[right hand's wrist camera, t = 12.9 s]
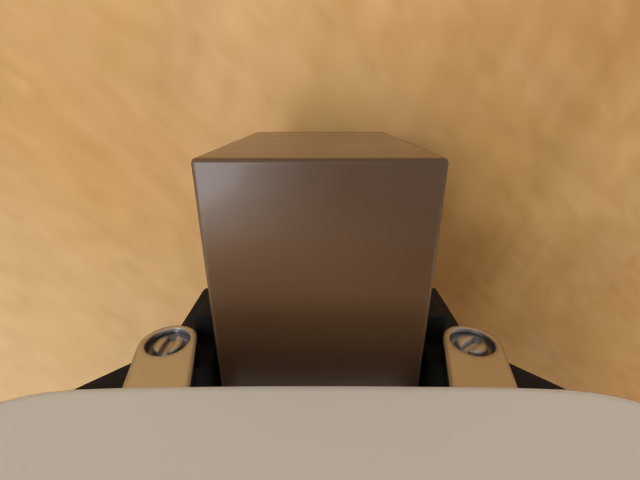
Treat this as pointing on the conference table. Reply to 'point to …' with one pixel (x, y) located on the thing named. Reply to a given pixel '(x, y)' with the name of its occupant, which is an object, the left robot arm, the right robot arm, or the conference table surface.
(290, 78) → the conference table surface
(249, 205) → the bar
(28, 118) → the conference table surface
